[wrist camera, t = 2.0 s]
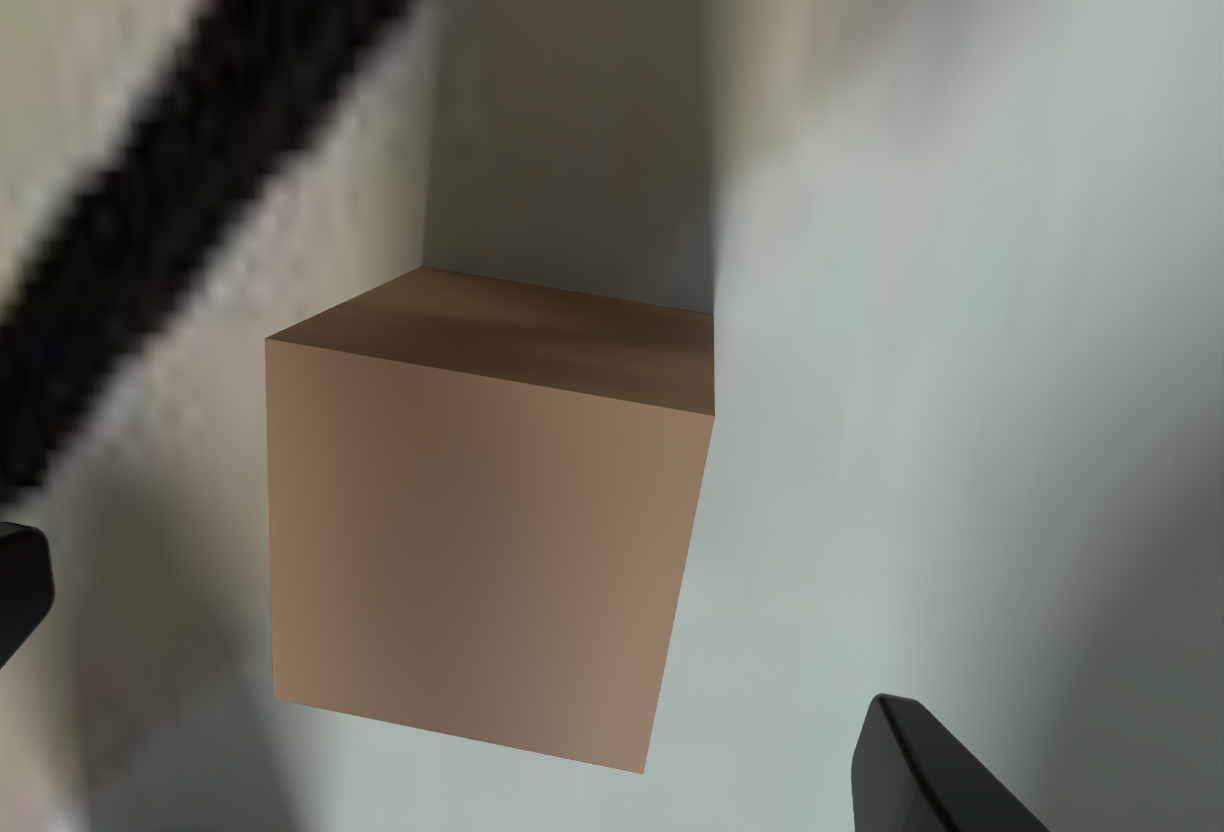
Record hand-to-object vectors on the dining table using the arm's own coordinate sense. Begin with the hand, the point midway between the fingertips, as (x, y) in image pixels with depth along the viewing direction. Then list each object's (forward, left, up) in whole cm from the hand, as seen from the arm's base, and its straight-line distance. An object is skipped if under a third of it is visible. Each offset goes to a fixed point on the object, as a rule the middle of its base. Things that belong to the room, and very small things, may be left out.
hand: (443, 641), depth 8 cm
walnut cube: (0, 0, -6) cm, 6 cm away
